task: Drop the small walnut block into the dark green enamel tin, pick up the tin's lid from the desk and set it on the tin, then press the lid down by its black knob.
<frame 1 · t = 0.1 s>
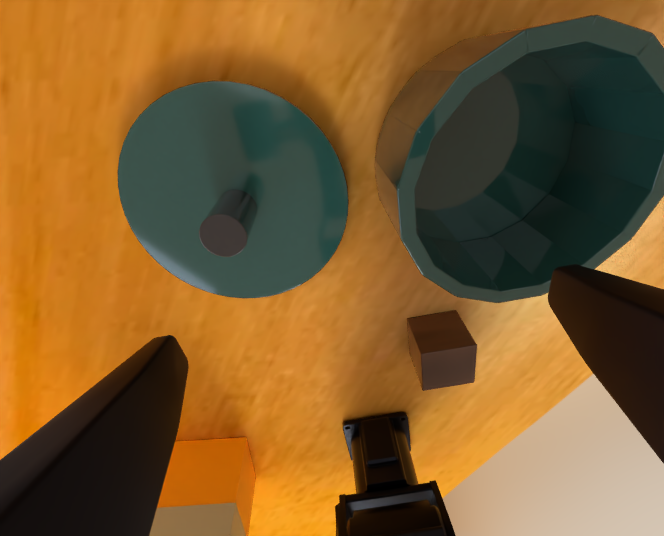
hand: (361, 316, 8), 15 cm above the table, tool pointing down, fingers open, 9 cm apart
tin: (475, 157, 21), on the table
block: (431, 332, 28), on the table
lid: (239, 205, 21), point 1 cm above the table
orange juice: (211, 458, 36), on the table
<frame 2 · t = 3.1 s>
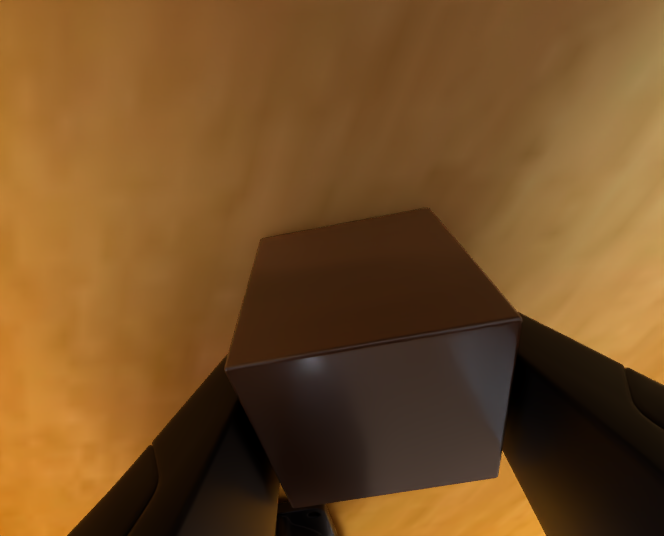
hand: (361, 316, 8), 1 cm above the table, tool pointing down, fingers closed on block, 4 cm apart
block: (355, 291, 9), on the table, touching gripper
when the fingers open (4 cm above the table, at t = 7.4 s): block drops 3 cm, resting on tin.
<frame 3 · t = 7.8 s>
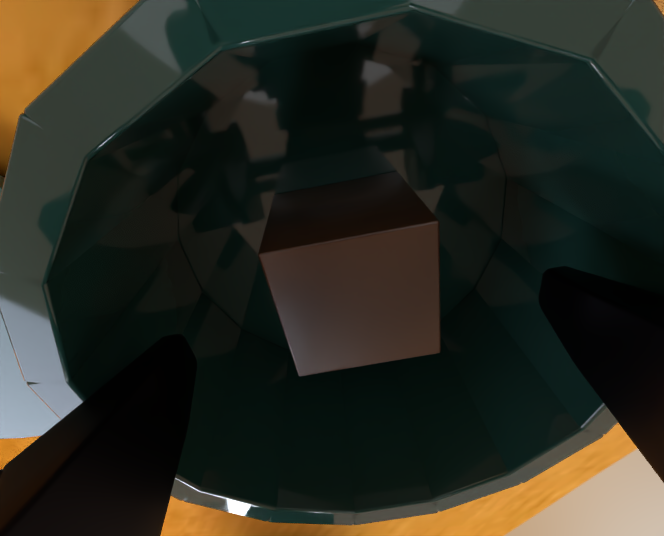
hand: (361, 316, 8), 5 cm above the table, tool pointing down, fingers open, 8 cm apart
tin: (343, 231, 12), on the table
block: (344, 238, 12), resting on tin
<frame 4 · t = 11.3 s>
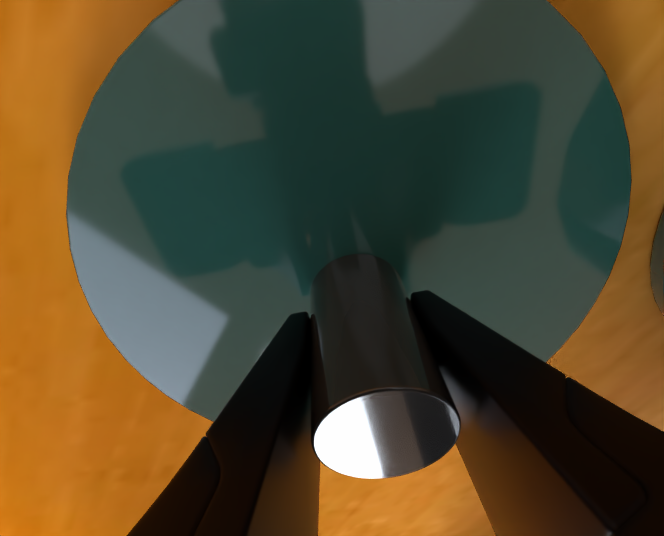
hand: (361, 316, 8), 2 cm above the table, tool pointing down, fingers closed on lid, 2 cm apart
lid: (354, 282, 9), point 1 cm above the table, touching gripper
when the fingers open (8 cm above the table, at t = 15.4 s): lid stays where it is, resting on tin.
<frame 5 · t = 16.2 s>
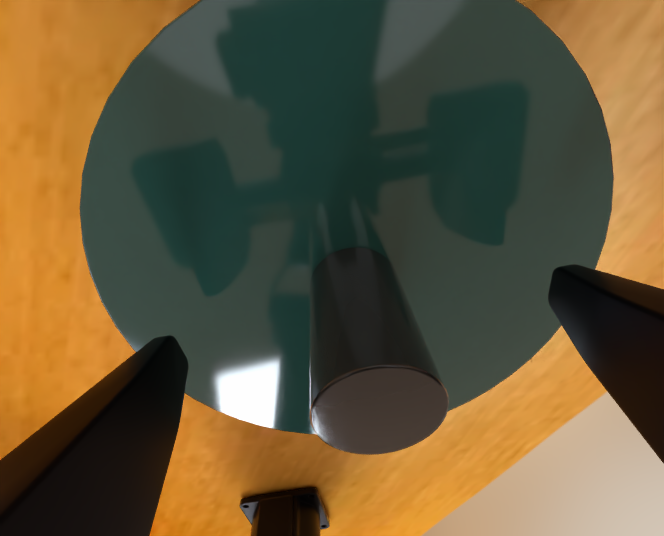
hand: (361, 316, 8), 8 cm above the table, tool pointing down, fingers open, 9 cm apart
lid: (351, 275, 10), point 6 cm above the table, touching tin
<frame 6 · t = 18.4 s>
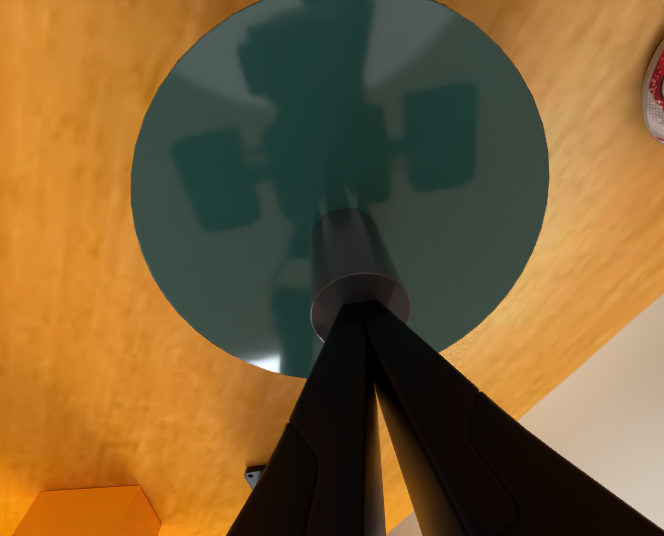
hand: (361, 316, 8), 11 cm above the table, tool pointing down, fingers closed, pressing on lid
lid: (343, 235, 12), point 6 cm above the table, touching gripper, tin
orange juice: (106, 506, 32), on the table
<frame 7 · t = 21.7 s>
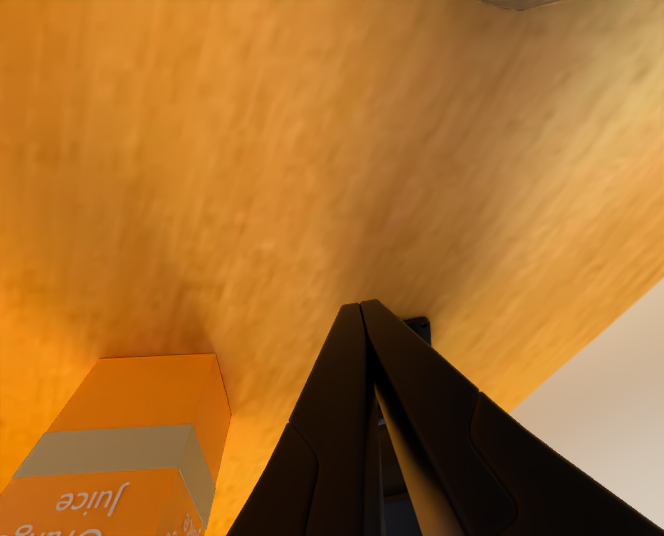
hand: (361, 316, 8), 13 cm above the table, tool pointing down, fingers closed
orange juice: (171, 387, 28), on the table
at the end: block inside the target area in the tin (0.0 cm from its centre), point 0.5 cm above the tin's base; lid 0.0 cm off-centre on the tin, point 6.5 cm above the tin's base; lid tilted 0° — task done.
